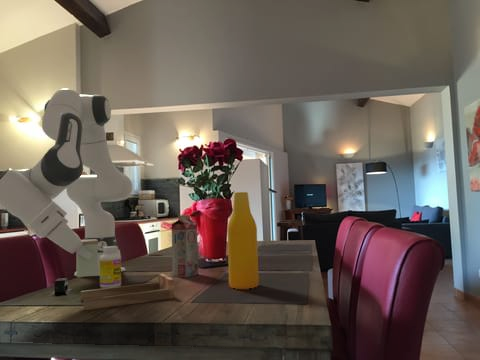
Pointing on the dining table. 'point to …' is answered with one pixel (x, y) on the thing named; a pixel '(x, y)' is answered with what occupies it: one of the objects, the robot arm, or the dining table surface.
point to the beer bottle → (242, 245)
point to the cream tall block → (91, 265)
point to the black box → (61, 287)
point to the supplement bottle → (110, 267)
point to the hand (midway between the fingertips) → (89, 256)
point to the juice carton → (184, 247)
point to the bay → (129, 294)
